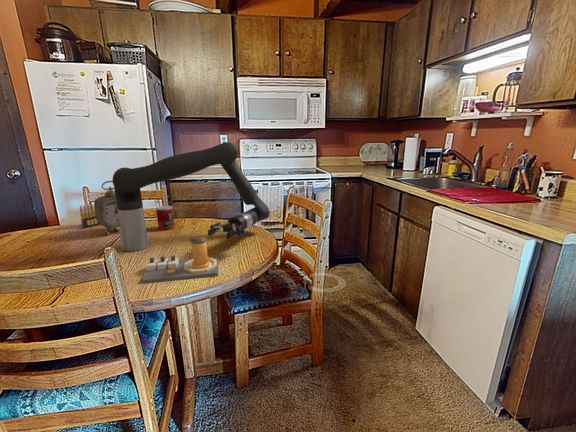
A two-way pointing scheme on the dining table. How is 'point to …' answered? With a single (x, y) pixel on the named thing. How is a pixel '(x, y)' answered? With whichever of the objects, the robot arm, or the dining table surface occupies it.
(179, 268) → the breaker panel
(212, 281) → the dining table surface
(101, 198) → the tabletop clock
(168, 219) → the canned food
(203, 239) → the cap
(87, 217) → the ammunition clip
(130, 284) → the dining table surface
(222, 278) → the dining table surface
